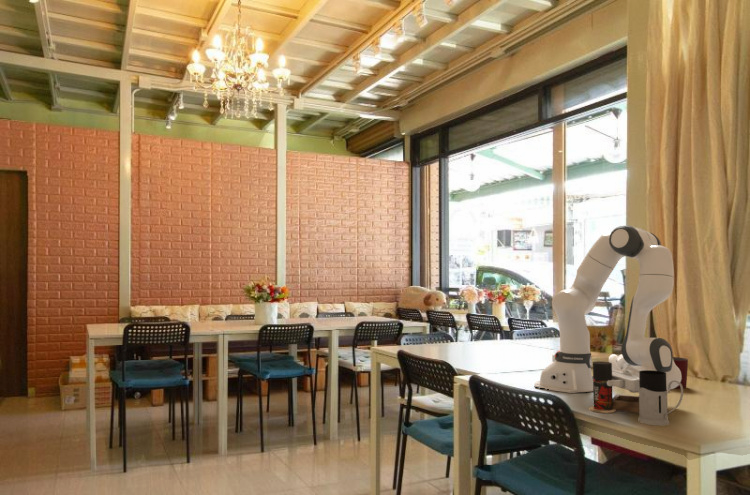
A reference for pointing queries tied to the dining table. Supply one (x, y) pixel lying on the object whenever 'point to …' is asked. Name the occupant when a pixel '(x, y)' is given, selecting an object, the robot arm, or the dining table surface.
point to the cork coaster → (601, 410)
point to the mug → (682, 370)
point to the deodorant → (602, 386)
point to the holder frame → (626, 403)
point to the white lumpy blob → (618, 362)
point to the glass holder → (654, 397)
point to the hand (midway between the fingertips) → (599, 381)
